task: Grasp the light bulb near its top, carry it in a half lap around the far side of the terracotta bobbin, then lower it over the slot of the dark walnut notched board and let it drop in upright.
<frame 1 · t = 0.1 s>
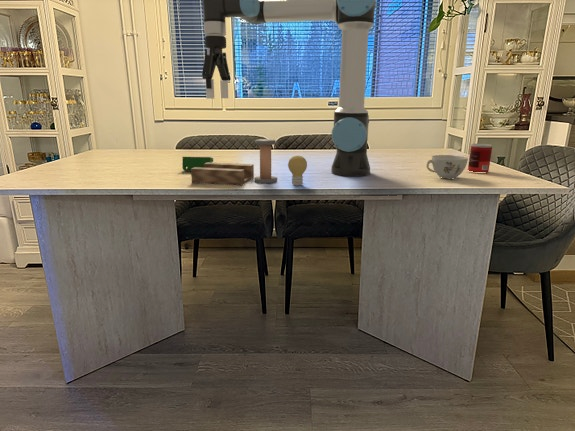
hand: (217, 98, 149), 28 cm above the table, fingers open, 13 cm apart
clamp: (198, 171, 162), on the table
bobbin: (265, 181, 142), on the table
light bulb: (297, 185, 137), on the table
teacup: (444, 178, 151), on the table
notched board: (223, 180, 144), on the table
canned food: (477, 172, 162), on the table
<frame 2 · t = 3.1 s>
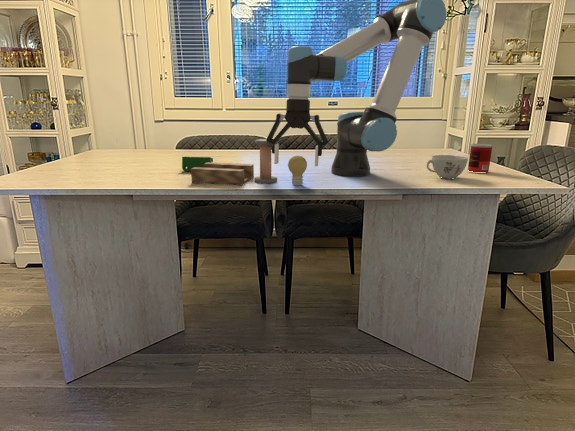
hand: (296, 164, 134), 7 cm above the table, fingers open, 13 cm apart
nothing on the table moved.
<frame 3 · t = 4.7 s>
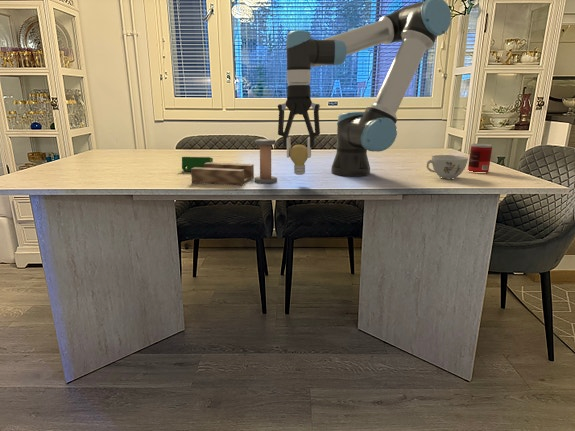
hand: (298, 156, 134), 10 cm above the table, fingers closed on light bulb, 6 cm apart
light bulb: (299, 174, 136), point 3 cm above the table, touching gripper
everything else where it was.
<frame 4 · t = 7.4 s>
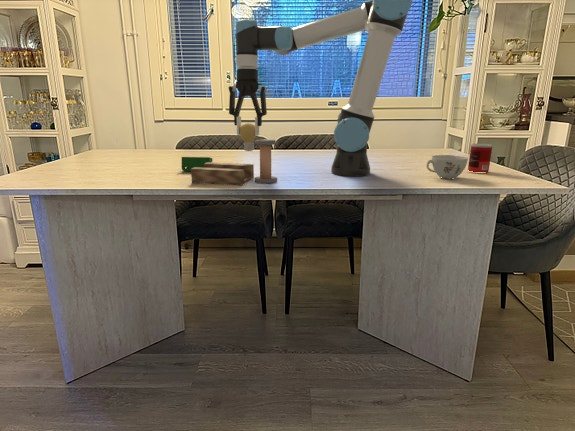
hand: (248, 134, 148), 15 cm above the table, fingers closed on light bulb, 6 cm apart
light bulb: (249, 151, 150), point 9 cm above the table, touching gripper
everything else where it was.
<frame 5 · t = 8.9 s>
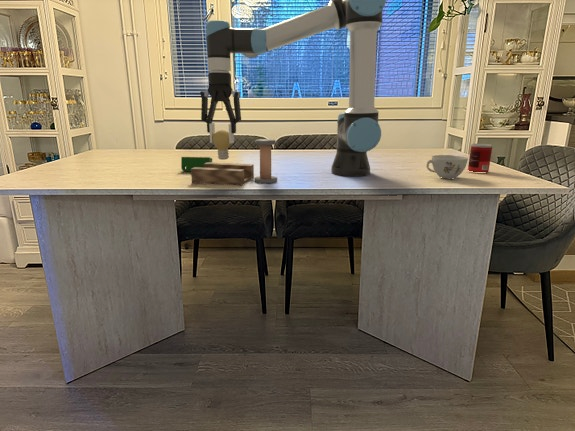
hand: (222, 142, 140), 13 cm above the table, fingers closed on light bulb, 6 cm apart
light bulb: (223, 159, 142), point 7 cm above the table, touching gripper
everything else where it was.
when the fingers open (8 cm above the table, at t = 10.0 s): light bulb drops 2 cm, resting on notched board.
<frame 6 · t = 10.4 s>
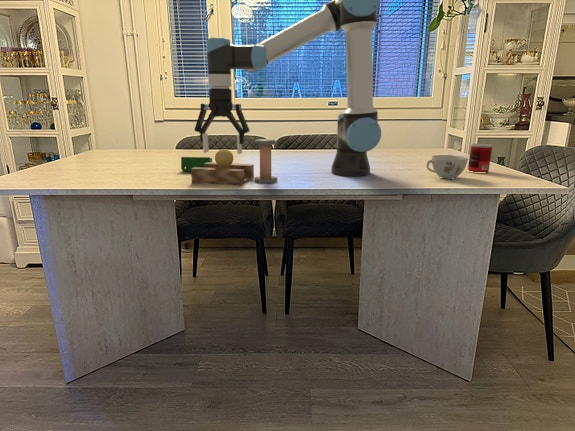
hand: (222, 152, 141), 10 cm above the table, fingers open, 12 cm apart
light bulb: (225, 178, 143), point 1 cm above the table, touching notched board
everything else where it was.
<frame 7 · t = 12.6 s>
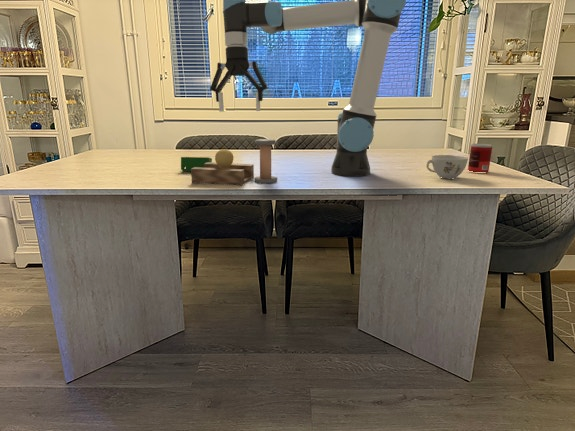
hand: (239, 111, 143), 24 cm above the table, fingers open, 13 cm apart
nothing on the table moved.
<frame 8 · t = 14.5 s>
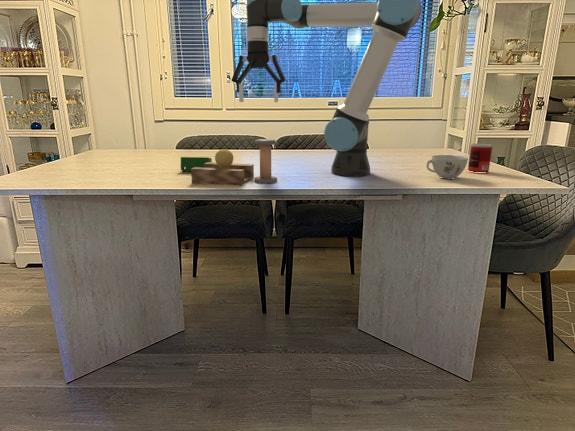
hand: (258, 102, 151), 27 cm above the table, fingers open, 13 cm apart
at the end: light bulb inside the target area on the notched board (0.4 cm from its centre), point 0.8 cm above the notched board's base; light bulb tilted 0°; the gripper is holding nothing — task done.
